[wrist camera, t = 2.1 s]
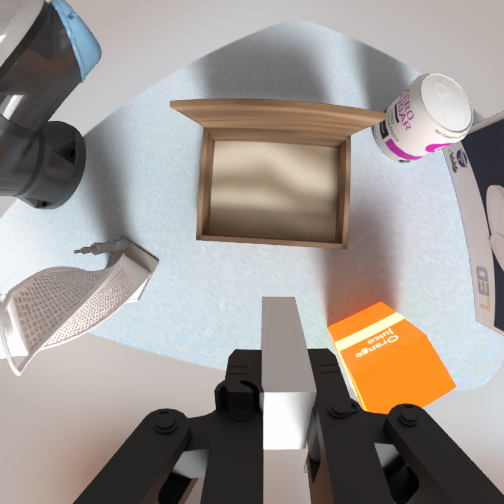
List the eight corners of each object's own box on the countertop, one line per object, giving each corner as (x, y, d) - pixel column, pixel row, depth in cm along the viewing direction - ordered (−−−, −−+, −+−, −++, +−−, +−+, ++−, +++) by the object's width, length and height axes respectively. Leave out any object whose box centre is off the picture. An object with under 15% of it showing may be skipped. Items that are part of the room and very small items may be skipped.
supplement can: (429, 152, 37) (488, 127, 23) (389, 172, 38) (442, 149, 23) (404, 105, 37) (451, 63, 22) (362, 121, 38) (401, 77, 23)
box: (337, 246, 40) (346, 249, 35) (205, 238, 41) (196, 240, 36) (341, 145, 38) (350, 135, 33) (211, 138, 39) (204, 127, 35)
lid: (348, 135, 33) (386, 119, 20) (205, 127, 34) (169, 106, 21) (349, 131, 33) (386, 113, 20) (205, 123, 34) (170, 100, 21)
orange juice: (326, 326, 41) (364, 403, 21) (381, 300, 40) (453, 353, 20) (343, 369, 41) (383, 456, 21) (395, 344, 40) (460, 413, 21)
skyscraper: (167, 266, 42) (23, 327, 14) (143, 311, 42) (12, 403, 15) (122, 235, 42) (-37, 253, 14) (101, 280, 42) (-44, 333, 15)
